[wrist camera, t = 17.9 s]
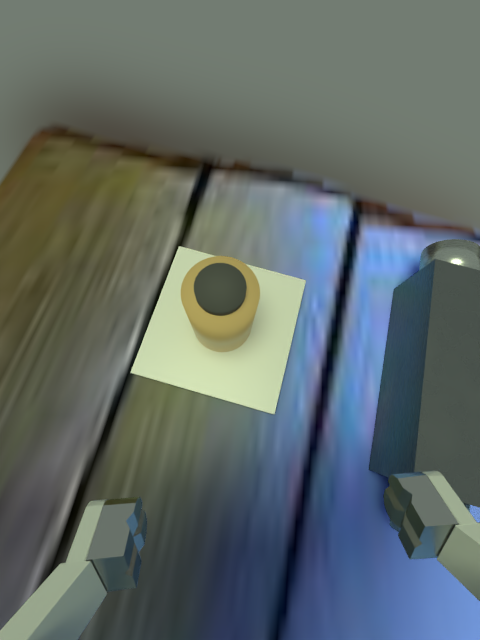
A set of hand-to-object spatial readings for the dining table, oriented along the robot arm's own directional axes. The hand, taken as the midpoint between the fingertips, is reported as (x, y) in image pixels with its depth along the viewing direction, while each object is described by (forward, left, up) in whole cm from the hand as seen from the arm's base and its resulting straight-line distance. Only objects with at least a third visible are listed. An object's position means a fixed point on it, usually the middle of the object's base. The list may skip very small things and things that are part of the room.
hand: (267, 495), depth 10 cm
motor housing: (+16, -2, -15) cm, 22 cm away
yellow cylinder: (+3, +10, -14) cm, 17 cm away
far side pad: (+3, +10, -15) cm, 18 cm away
